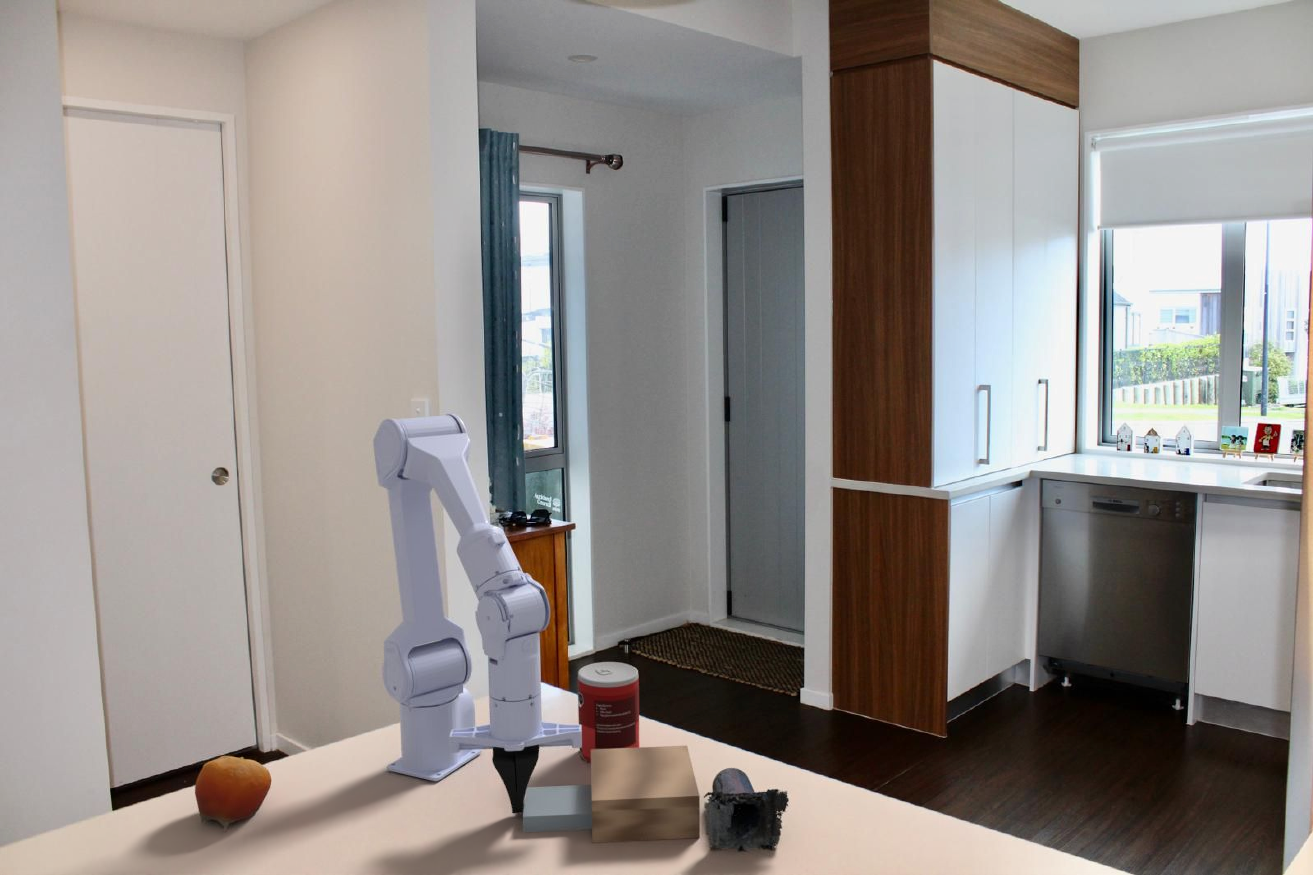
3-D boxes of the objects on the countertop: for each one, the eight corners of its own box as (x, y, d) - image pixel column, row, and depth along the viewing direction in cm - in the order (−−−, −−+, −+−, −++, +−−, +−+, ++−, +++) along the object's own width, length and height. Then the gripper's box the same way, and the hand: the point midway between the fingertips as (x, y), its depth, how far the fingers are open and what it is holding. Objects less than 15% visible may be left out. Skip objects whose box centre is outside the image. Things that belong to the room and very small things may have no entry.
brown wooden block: (592, 842, 107) (591, 800, 107) (591, 787, 120) (590, 749, 120) (699, 837, 108) (699, 795, 108) (687, 783, 121) (687, 745, 120)
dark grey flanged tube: (779, 864, 105) (755, 815, 117) (792, 792, 105) (766, 750, 117) (694, 854, 104) (679, 805, 116) (707, 781, 104) (690, 740, 116)
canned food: (603, 737, 135) (602, 657, 134) (652, 751, 130) (651, 669, 129) (566, 757, 129) (564, 674, 127) (615, 773, 124) (614, 686, 123)
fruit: (164, 821, 110) (190, 746, 113) (213, 828, 117) (236, 757, 120) (223, 833, 107) (247, 756, 110) (270, 839, 114) (291, 766, 117)
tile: (523, 832, 110) (522, 816, 110) (526, 802, 117) (526, 787, 117) (642, 826, 111) (642, 811, 111) (638, 797, 118) (638, 782, 117)
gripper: (443, 708, 107) (448, 829, 109) (580, 703, 108) (582, 823, 110) (452, 684, 114) (456, 799, 116) (580, 680, 115) (583, 793, 117)
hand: (518, 809), depth 113 cm, fingers closed
